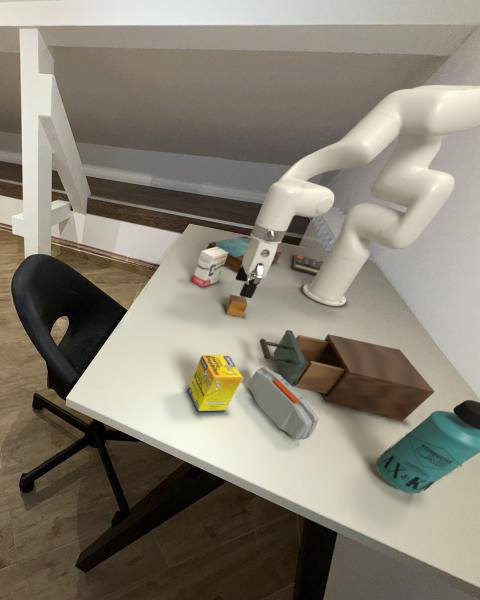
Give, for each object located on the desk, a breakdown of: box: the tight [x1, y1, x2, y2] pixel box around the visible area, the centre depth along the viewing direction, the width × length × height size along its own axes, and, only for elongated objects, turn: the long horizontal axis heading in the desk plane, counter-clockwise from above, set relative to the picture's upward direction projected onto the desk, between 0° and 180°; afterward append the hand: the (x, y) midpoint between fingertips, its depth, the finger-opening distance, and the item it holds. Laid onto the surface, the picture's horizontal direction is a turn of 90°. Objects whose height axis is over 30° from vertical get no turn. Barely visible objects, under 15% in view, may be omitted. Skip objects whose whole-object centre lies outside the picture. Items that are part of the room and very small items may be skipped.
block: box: [225, 293, 248, 318], centre depth 94 cm, size 4×4×4 cm
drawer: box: [259, 329, 346, 394], centre depth 72 cm, size 19×11×8 cm, turn 74°
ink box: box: [191, 247, 228, 288], centre depth 106 cm, size 8×5×12 cm, turn 123°
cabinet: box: [321, 333, 435, 422], centre depth 69 cm, size 15×13×10 cm
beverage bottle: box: [375, 399, 480, 495], centre depth 49 cm, size 6×7×20 cm
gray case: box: [247, 366, 320, 441], centre depth 62 cm, size 14×3×8 cm, turn 17°
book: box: [206, 235, 282, 273], centre depth 127 cm, size 23×18×5 cm
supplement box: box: [187, 354, 244, 414], centre depth 63 cm, size 6×6×11 cm
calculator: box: [292, 254, 324, 276], centre depth 126 cm, size 12×1×15 cm
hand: (242, 288), depth 91 cm, fingers open, 9 cm apart
